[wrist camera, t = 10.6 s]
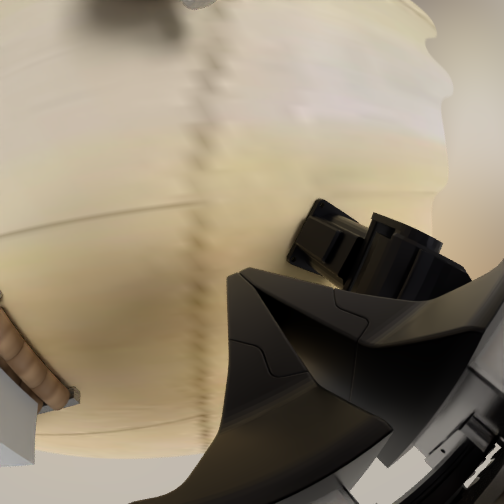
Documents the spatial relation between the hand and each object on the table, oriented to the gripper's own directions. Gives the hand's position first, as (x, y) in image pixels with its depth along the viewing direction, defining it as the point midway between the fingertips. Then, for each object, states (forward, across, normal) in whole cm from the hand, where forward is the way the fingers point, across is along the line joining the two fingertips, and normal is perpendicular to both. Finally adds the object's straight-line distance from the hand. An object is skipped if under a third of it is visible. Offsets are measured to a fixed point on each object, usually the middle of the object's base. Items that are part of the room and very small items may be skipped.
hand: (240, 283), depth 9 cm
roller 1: (+12, +19, +7) cm, 23 cm away
